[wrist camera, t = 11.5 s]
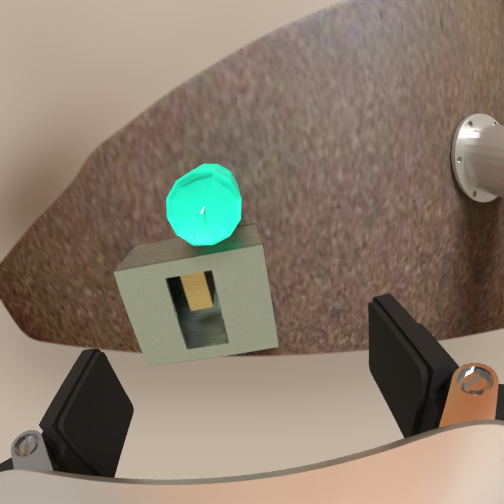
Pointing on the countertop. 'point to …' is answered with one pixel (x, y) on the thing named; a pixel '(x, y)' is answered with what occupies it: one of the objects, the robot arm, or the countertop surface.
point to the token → (199, 290)
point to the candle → (205, 205)
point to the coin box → (204, 320)
